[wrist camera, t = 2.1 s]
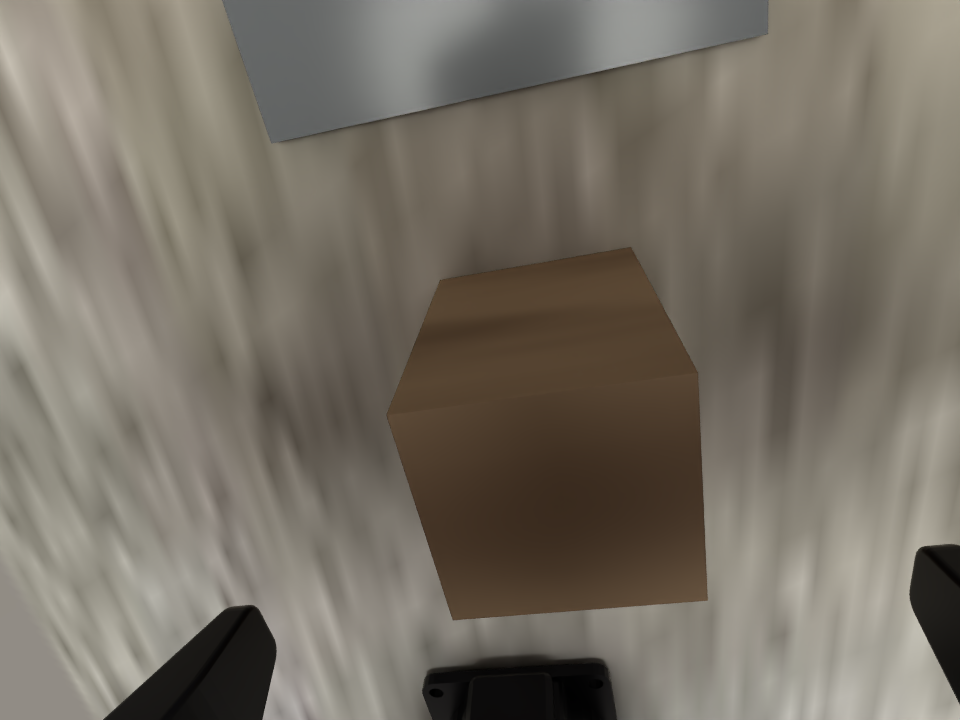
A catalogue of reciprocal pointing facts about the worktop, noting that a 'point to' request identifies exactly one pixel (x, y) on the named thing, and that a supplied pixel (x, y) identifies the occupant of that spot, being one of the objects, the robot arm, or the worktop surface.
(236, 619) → the robot arm
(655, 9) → the slate coaster
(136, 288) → the worktop surface
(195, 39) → the worktop surface
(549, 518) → the walnut block
